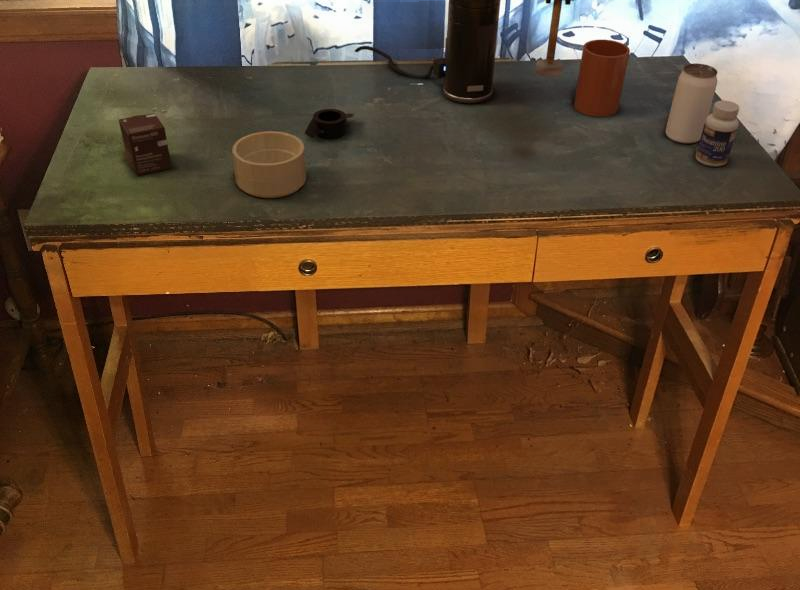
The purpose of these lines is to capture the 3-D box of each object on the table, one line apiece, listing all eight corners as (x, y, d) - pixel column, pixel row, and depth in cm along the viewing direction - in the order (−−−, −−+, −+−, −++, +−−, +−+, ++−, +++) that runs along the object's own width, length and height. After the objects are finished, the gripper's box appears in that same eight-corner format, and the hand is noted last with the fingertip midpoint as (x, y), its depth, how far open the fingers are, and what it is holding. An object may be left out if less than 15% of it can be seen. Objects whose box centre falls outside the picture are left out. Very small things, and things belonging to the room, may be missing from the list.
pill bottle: (690, 161, 147) (705, 107, 140) (701, 149, 150) (716, 95, 143) (721, 170, 145) (737, 115, 138) (731, 158, 148) (748, 104, 141)
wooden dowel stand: (535, 76, 129) (548, -33, 120) (535, 67, 132) (548, -40, 123) (561, 77, 129) (577, -31, 120) (561, 69, 132) (576, -38, 123)
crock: (565, 101, 163) (574, 43, 156) (602, 94, 166) (612, 36, 158) (589, 119, 158) (599, 60, 150) (626, 112, 160) (639, 53, 153)
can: (702, 146, 151) (721, 79, 143) (665, 142, 152) (681, 75, 143) (700, 130, 156) (718, 64, 147) (664, 126, 156) (680, 60, 148)
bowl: (228, 172, 141) (224, 138, 137) (293, 160, 145) (290, 126, 140) (248, 205, 134) (244, 170, 130) (315, 191, 137) (314, 157, 133)
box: (136, 176, 140) (127, 134, 134) (126, 160, 143) (117, 118, 138) (172, 168, 142) (165, 126, 137) (162, 153, 146) (154, 111, 140)
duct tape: (298, 125, 154) (297, 109, 152) (352, 119, 156) (352, 103, 154) (306, 144, 149) (305, 129, 147) (362, 138, 151) (362, 122, 149)
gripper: (628, -139, 115) (604, -4, 127) (524, -144, 116) (510, -10, 128) (632, -126, 110) (607, 14, 122) (523, -131, 111) (509, 8, 123)
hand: (557, 1), depth 125 cm, fingers closed on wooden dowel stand, 2 cm apart
